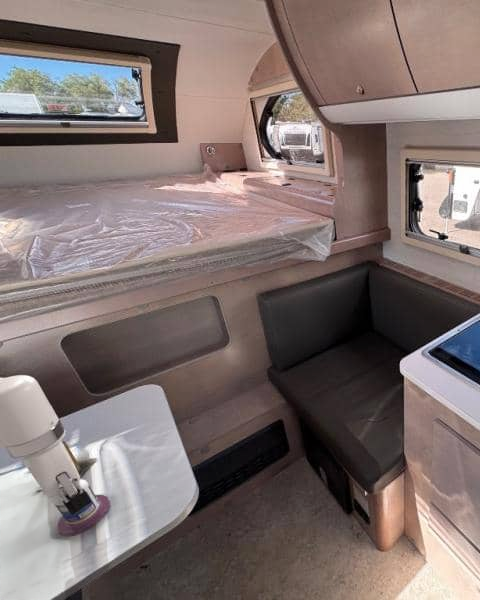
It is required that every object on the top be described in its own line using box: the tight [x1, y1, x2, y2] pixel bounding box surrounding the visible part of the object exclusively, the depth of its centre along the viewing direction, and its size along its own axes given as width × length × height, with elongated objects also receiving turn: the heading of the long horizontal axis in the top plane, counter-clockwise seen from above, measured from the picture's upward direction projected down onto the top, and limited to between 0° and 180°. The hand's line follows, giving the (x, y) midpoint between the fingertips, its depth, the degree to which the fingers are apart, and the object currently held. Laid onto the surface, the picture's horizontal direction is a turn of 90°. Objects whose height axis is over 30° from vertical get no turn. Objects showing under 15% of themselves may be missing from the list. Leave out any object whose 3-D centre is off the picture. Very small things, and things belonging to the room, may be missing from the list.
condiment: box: [36, 439, 98, 491], centre depth 77 cm, size 7×8×12 cm
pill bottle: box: [52, 478, 99, 524], centre depth 68 cm, size 5×5×10 cm
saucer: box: [56, 494, 111, 537], centre depth 70 cm, size 8×8×1 cm
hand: (74, 497), depth 68 cm, fingers open, 7 cm apart
